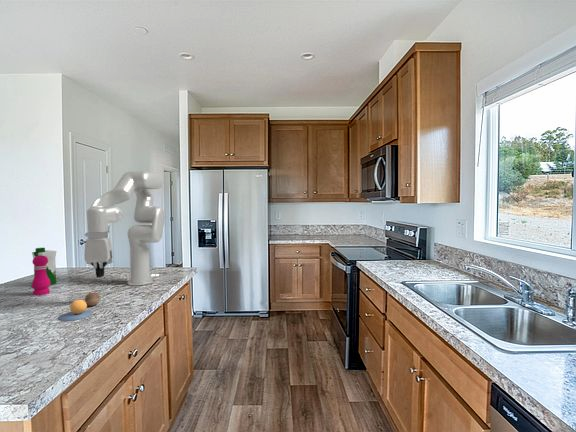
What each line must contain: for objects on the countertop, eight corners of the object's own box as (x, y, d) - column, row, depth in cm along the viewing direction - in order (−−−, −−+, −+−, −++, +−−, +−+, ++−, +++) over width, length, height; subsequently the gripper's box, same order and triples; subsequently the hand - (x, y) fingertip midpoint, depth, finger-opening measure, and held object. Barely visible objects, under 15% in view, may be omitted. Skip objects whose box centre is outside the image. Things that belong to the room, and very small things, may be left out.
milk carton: (30, 286, 170) (29, 248, 170) (48, 282, 179) (47, 246, 178) (42, 287, 168) (41, 249, 167) (59, 283, 176) (58, 246, 175)
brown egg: (88, 292, 134) (87, 306, 133) (102, 292, 138) (101, 305, 137) (83, 292, 137) (81, 306, 136) (97, 292, 142) (95, 305, 140)
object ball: (82, 294, 129) (74, 300, 124) (92, 304, 130) (84, 310, 125) (72, 303, 129) (63, 309, 124) (82, 312, 130) (74, 319, 125)
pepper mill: (40, 296, 152) (39, 253, 151) (27, 295, 153) (26, 253, 153) (54, 291, 159) (53, 251, 158) (42, 291, 160) (41, 251, 160)
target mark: (88, 309, 133) (88, 308, 133) (95, 315, 125) (95, 315, 125) (55, 315, 125) (55, 315, 125) (60, 323, 117) (60, 322, 117)
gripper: (75, 237, 138) (77, 279, 139) (111, 236, 139) (113, 278, 140) (85, 234, 145) (87, 274, 147) (119, 234, 146) (121, 274, 148)
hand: (100, 276), depth 143 cm, fingers closed
